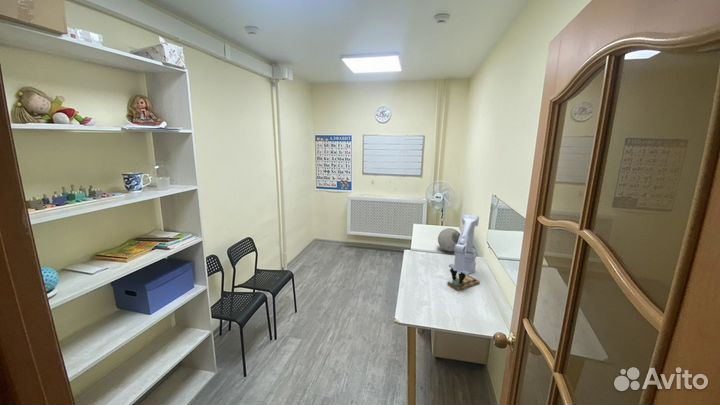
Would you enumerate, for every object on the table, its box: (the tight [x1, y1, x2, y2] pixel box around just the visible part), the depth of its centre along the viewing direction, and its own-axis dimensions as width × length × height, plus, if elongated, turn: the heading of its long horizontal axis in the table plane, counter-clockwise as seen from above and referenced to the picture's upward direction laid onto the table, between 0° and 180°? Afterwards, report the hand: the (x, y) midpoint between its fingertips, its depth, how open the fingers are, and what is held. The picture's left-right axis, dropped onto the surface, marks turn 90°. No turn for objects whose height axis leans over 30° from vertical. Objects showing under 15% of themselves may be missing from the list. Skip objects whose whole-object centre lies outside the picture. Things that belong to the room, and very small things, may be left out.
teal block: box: [451, 279, 461, 287], centre depth 177 cm, size 4×4×4 cm
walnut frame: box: [447, 275, 481, 292], centre depth 179 cm, size 20×9×2 cm, turn 119°
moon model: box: [437, 227, 461, 253], centre depth 234 cm, size 20×20×20 cm
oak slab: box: [456, 275, 475, 284], centre depth 183 cm, size 8×8×3 cm
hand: (457, 281), depth 176 cm, fingers open, 5 cm apart
